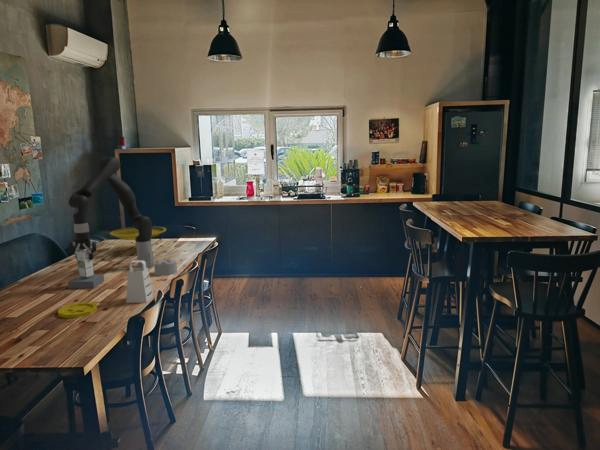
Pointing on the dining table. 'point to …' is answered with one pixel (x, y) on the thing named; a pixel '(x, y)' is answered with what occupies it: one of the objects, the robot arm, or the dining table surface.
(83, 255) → the syrup box
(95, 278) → the charcoal plinth
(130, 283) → the grater
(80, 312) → the decorative disc
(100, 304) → the dining table surface
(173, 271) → the lumpy-topped squat cylinder
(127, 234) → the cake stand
